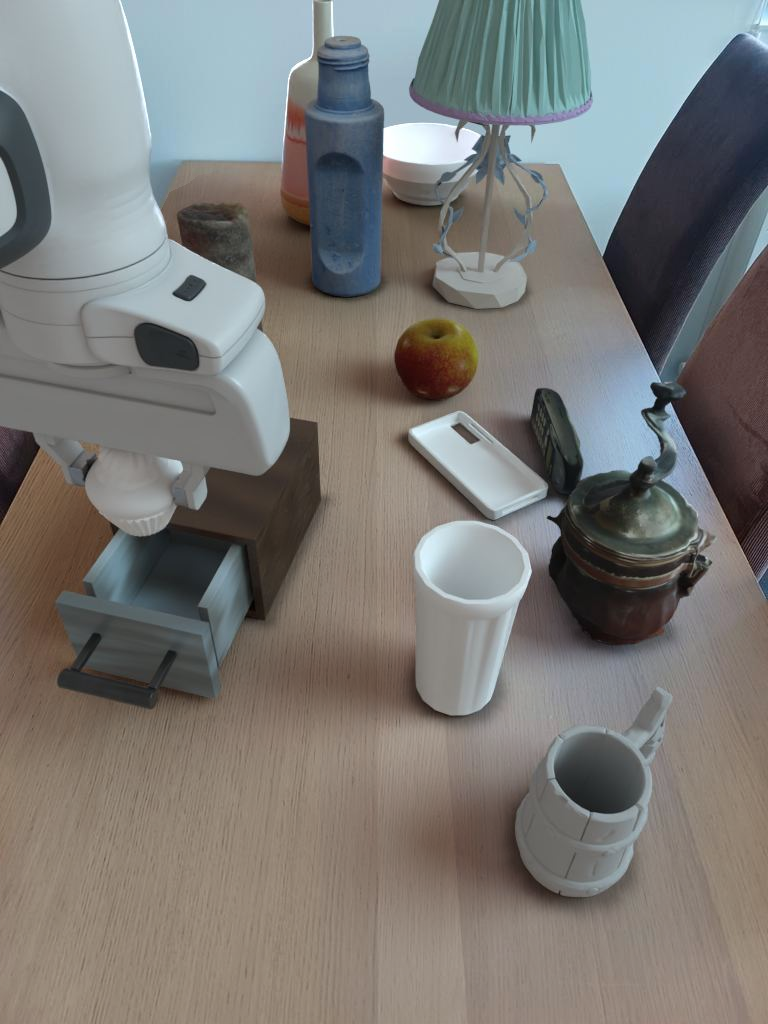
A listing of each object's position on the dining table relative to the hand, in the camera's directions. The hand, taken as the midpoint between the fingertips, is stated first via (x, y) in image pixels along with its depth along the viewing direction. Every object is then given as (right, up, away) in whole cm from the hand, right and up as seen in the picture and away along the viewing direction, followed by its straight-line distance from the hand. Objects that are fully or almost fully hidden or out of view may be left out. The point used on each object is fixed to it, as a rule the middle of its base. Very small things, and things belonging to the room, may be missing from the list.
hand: (138, 491), depth 51 cm
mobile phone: (+34, +4, +33) cm, 47 cm away
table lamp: (+29, +30, +61) cm, 74 cm away
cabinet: (+2, -4, +23) cm, 24 cm away
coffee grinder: (+35, -9, +20) cm, 41 cm away
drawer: (-1, -11, +14) cm, 18 cm away
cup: (+21, -15, +12) cm, 29 cm away
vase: (+7, +45, +77) cm, 90 cm away
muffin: (0, -2, +2) cm, 3 cm away
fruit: (+22, +13, +43) cm, 49 cm away
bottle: (+10, +31, +61) cm, 69 cm away
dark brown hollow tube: (-2, +15, +44) cm, 46 cm away
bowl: (+23, +52, +85) cm, 102 cm away
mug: (+30, -23, +4) cm, 38 cm away
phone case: (+25, +3, +32) cm, 41 cm away
